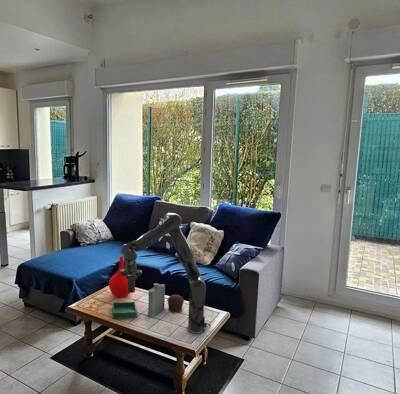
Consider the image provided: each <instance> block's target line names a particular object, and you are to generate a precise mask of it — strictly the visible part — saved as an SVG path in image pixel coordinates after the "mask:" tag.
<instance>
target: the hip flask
mask: <svg viewBox="0 0 400 394" xmlns="http://www.w3.org/2000/svg"><path fill="white" fill-rule="evenodd" d="M165 298H166V284H164V283H161V284H160V283H158V282H155V283H153V287H152V288H150V289H148V303H147V304H148V305H147V307H148V308H147V312H148V313H147V317H148V318H153V317H155V315H156V314H159V313H161V312H162V311H164V310H165V302H166V301H165Z"/></svg>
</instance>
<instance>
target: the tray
mask: <svg viewBox="0 0 400 394" xmlns="http://www.w3.org/2000/svg"><path fill="white" fill-rule="evenodd" d="M112 317H113V319H129V318H138V311H137V306H136V302H135V301H123V302H122V301H121V302H120V301H119V302H112Z"/></svg>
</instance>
